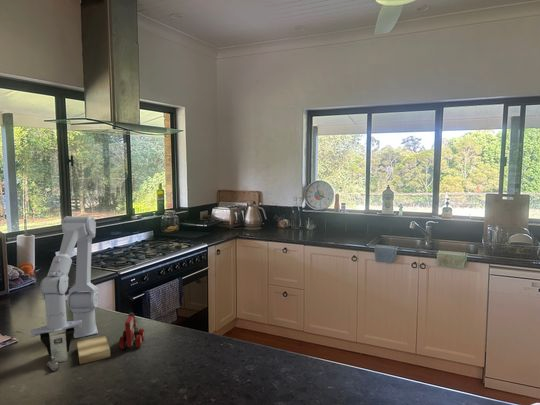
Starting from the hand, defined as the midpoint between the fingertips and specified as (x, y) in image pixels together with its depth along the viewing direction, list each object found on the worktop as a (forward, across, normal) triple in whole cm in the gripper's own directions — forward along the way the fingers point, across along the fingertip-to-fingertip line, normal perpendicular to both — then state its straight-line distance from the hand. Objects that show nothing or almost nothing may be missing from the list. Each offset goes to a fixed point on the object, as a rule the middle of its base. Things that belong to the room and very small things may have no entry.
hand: (59, 352), depth 126 cm
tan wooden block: (+1, +10, -3) cm, 11 cm away
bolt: (+1, -2, -7) cm, 7 cm away
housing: (+1, 0, 0) cm, 1 cm away
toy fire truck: (+2, +22, -3) cm, 23 cm away
